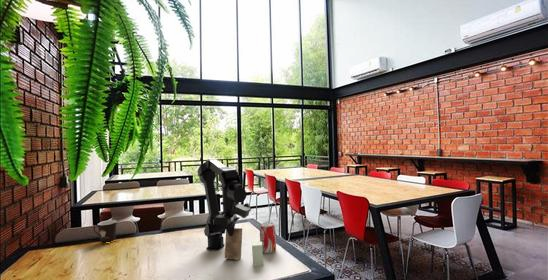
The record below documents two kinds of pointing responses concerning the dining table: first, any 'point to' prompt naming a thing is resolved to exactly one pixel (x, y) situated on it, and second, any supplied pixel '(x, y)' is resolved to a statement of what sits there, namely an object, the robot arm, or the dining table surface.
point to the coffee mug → (106, 231)
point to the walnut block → (233, 244)
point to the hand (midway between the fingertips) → (231, 235)
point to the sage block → (257, 253)
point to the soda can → (268, 237)
